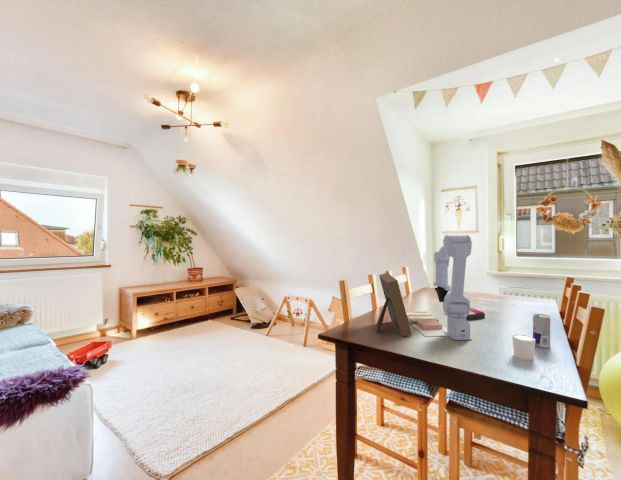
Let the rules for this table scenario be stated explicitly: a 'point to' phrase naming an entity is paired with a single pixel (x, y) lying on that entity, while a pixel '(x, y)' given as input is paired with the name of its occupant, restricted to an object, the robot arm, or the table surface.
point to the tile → (428, 324)
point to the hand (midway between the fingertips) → (441, 301)
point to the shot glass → (523, 346)
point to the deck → (419, 316)
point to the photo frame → (393, 305)
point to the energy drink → (541, 330)
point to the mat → (431, 331)
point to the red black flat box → (475, 315)
